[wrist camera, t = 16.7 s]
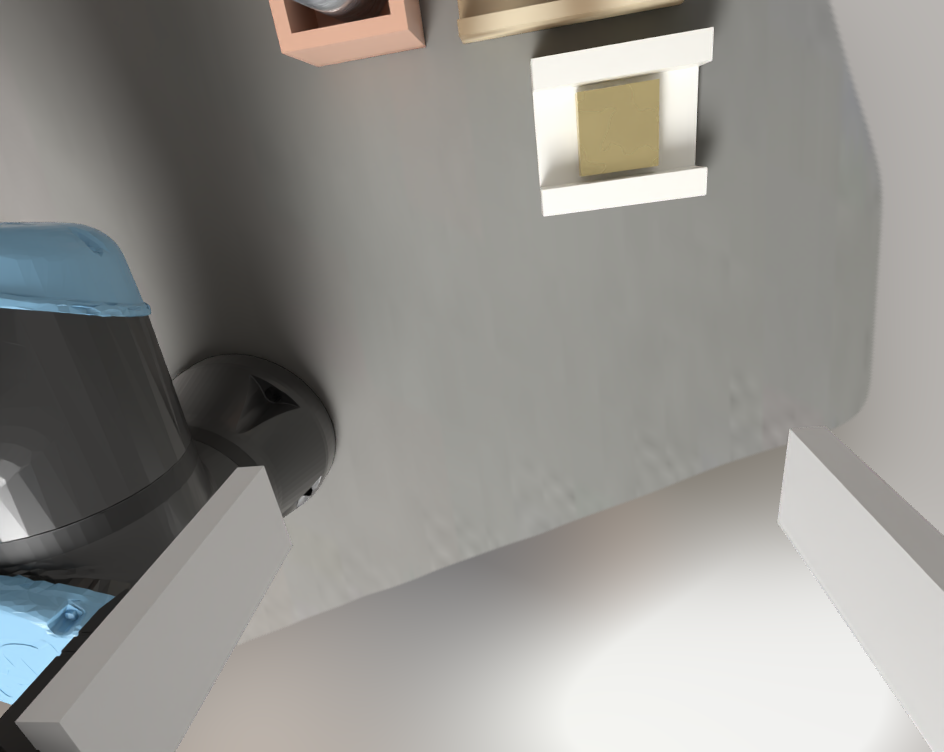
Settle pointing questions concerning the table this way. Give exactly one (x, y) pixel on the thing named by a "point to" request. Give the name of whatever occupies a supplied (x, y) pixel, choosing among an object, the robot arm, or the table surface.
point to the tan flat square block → (618, 128)
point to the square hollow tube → (346, 32)
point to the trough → (539, 14)
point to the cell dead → (346, 8)
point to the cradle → (606, 68)
